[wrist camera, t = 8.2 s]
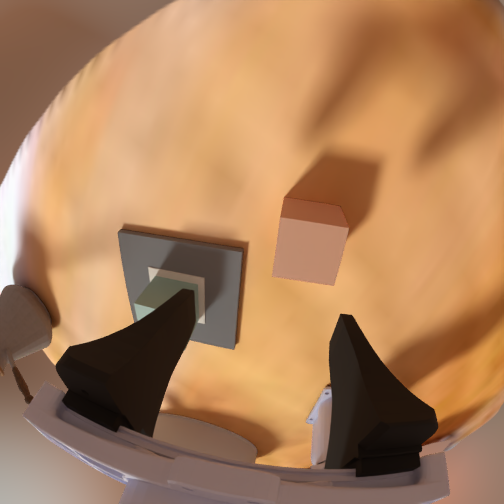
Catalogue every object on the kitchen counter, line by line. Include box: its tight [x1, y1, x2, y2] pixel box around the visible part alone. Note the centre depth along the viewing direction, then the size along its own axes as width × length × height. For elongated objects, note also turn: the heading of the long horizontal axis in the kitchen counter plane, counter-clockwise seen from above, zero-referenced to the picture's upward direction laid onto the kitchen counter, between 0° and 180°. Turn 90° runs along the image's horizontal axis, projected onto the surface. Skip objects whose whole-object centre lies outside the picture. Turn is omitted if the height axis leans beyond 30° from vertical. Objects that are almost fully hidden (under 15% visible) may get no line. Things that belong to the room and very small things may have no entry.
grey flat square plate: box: [118, 229, 243, 350], centre depth 24 cm, size 11×11×1 cm
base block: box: [134, 276, 199, 350], centre depth 22 cm, size 4×4×4 cm
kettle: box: [152, 413, 258, 463], centre depth 33 cm, size 25×23×22 cm
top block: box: [272, 197, 349, 286], centre depth 18 cm, size 4×4×4 cm
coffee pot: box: [0, 285, 52, 404], centre depth 25 cm, size 21×12×15 cm, turn 93°
